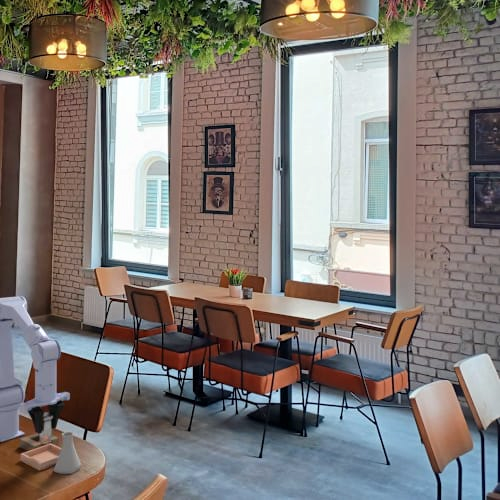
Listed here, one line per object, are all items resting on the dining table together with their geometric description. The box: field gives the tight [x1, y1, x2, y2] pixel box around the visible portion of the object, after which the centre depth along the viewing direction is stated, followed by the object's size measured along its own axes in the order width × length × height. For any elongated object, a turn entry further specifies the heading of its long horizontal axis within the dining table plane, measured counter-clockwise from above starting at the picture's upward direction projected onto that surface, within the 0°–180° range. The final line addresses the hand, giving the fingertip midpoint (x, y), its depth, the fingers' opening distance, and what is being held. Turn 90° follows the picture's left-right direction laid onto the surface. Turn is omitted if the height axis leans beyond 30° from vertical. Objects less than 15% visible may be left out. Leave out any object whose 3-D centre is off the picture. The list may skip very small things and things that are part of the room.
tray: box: [20, 443, 62, 472], centre depth 162 cm, size 10×10×2 cm
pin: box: [40, 411, 54, 444], centre depth 162 cm, size 4×4×8 cm
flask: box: [53, 431, 82, 475], centre depth 157 cm, size 7×7×10 cm
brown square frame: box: [19, 432, 60, 452], centre depth 171 cm, size 8×8×2 cm
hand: (45, 430), depth 162 cm, fingers closed on pin, 4 cm apart
